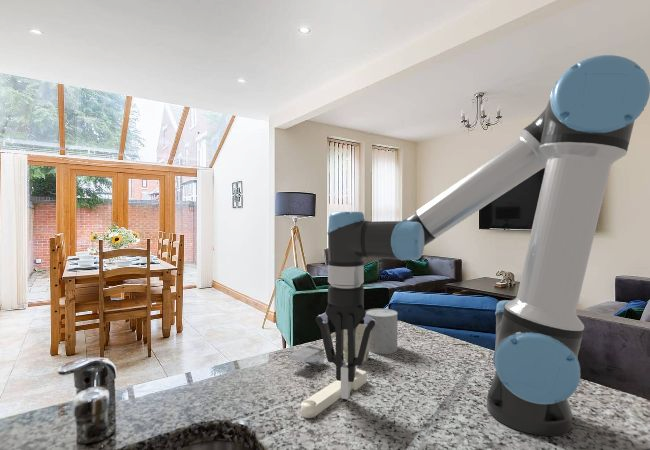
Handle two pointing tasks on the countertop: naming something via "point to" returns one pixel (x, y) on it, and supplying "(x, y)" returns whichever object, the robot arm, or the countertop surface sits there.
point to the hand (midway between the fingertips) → (345, 395)
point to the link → (329, 395)
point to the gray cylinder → (383, 331)
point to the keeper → (309, 355)
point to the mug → (358, 340)
